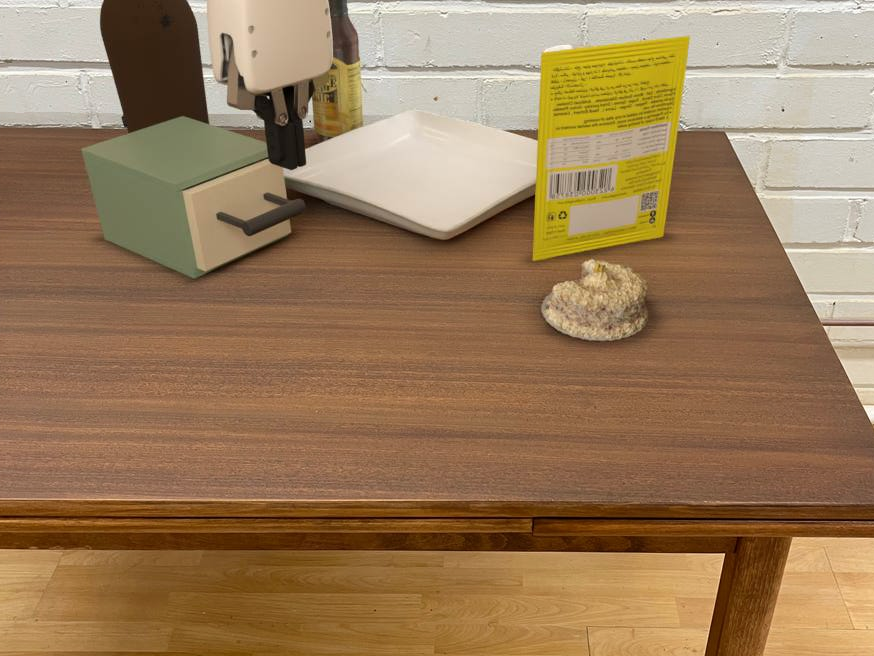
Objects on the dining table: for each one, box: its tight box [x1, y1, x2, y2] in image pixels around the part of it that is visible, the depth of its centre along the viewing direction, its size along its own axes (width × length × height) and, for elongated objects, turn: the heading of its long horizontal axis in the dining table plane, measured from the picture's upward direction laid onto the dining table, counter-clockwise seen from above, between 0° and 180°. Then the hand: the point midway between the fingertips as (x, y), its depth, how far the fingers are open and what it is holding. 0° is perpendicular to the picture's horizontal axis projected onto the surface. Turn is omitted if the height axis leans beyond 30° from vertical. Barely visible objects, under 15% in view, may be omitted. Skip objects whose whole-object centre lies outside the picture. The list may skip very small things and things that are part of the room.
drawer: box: [183, 159, 307, 272], centre depth 96 cm, size 19×11×8 cm, turn 52°
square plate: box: [283, 108, 538, 241], centre depth 110 cm, size 27×27×4 cm
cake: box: [540, 258, 650, 342], centre depth 87 cm, size 10×10×5 cm
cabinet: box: [80, 116, 289, 280], centre depth 98 cm, size 15×13×10 cm
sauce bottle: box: [311, 0, 364, 144], centre depth 117 cm, size 7×6×20 cm
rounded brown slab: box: [99, 0, 210, 134], centre depth 110 cm, size 11×11×25 cm
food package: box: [532, 35, 691, 262], centre depth 93 cm, size 15×1×20 cm, turn 113°
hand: (287, 164), depth 85 cm, fingers closed
